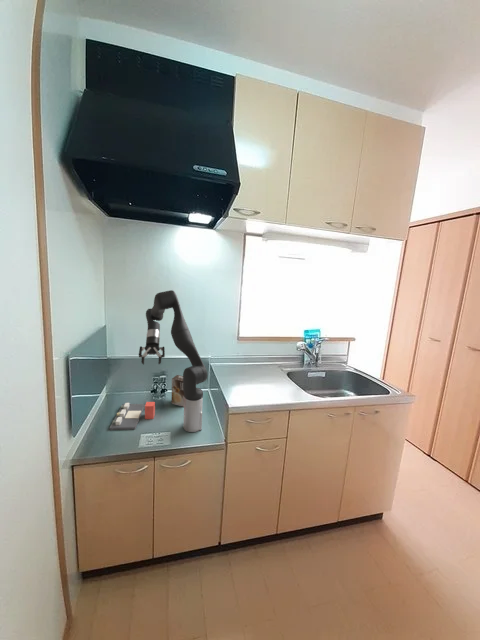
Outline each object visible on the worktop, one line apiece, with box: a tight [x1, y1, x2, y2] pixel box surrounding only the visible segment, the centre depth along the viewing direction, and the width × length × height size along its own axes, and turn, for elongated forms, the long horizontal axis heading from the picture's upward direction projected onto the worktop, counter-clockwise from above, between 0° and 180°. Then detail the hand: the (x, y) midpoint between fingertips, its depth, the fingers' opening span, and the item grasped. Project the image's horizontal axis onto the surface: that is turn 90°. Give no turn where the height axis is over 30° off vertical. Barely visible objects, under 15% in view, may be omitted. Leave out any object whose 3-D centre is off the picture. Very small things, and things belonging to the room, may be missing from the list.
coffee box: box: [171, 374, 184, 408], centre depth 156 cm, size 9×6×16 cm
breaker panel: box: [109, 402, 146, 431], centre depth 140 cm, size 12×22×3 cm, turn 8°
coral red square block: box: [144, 401, 156, 420], centre depth 141 cm, size 4×4×8 cm
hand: (151, 364), depth 150 cm, fingers open, 8 cm apart
